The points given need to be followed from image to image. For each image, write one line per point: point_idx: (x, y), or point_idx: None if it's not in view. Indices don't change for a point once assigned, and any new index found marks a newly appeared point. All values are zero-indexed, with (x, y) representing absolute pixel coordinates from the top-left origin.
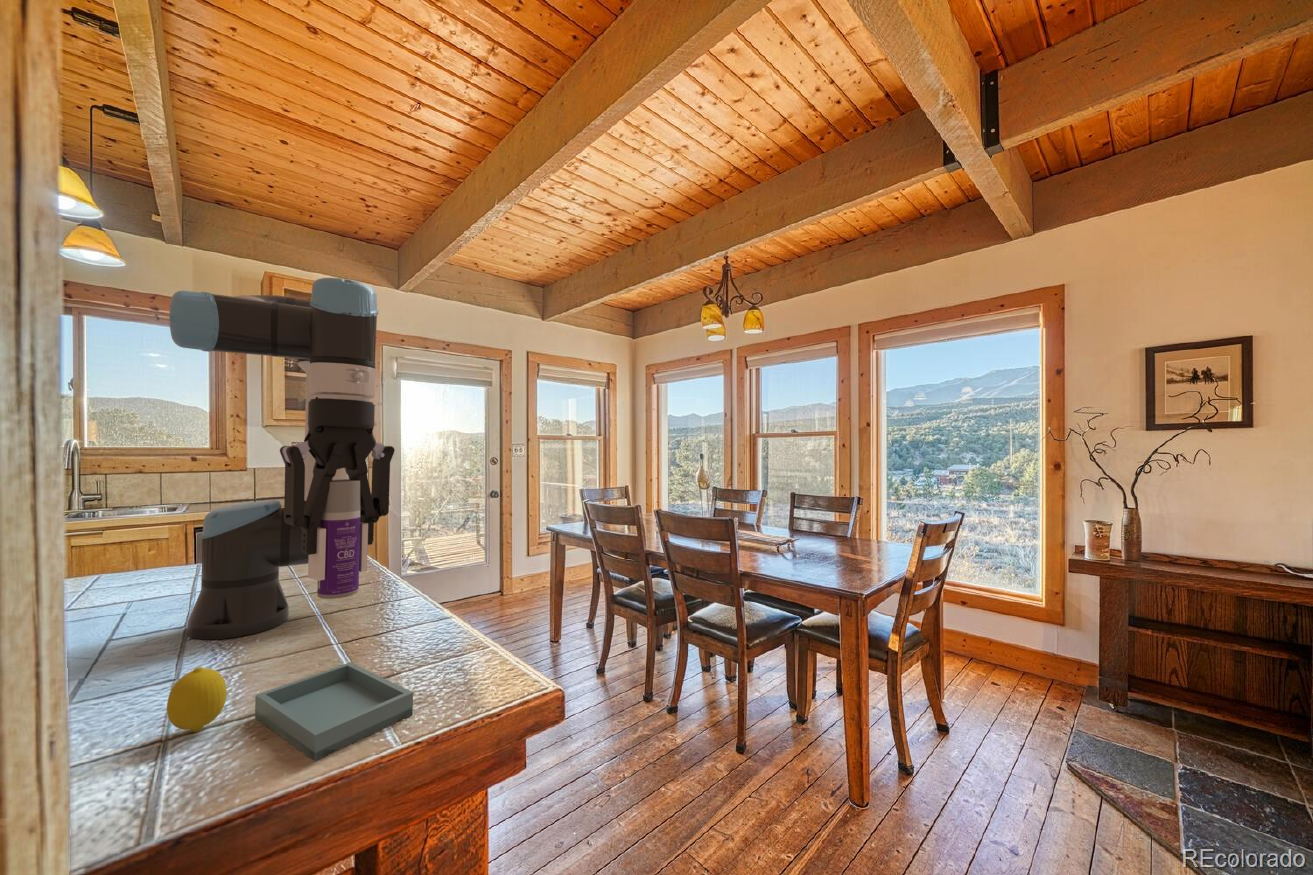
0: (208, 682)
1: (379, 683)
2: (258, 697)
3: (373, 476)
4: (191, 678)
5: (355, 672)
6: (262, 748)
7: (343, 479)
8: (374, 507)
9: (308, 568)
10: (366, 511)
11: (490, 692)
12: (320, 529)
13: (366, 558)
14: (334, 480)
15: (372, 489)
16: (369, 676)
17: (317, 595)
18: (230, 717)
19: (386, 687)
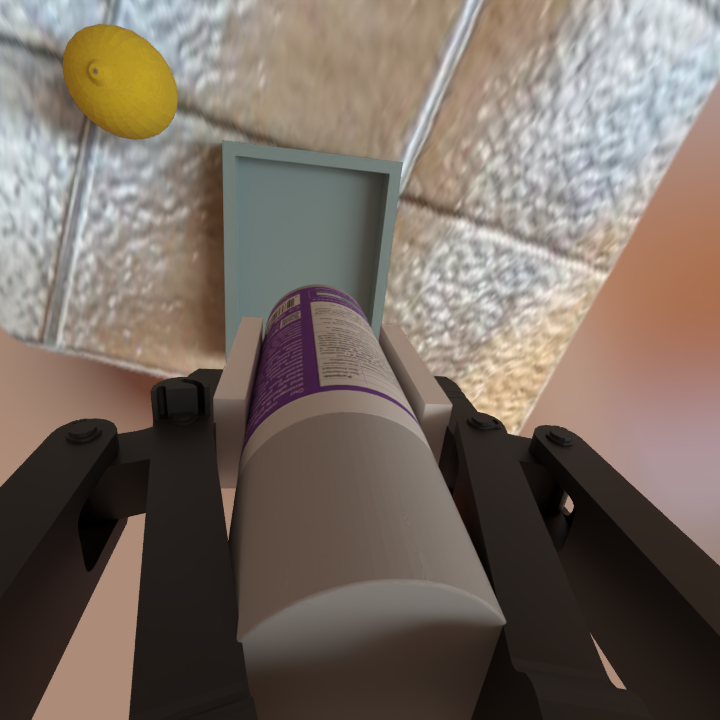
0: (120, 121)
1: (374, 291)
2: (223, 154)
3: (701, 646)
4: (85, 94)
5: (384, 207)
6: (200, 259)
7: (464, 612)
8: (543, 473)
9: (239, 327)
10: None
11: (466, 397)
12: (220, 486)
13: None
14: (348, 653)
15: (619, 538)
16: (379, 260)
17: (269, 315)
18: (202, 95)
19: (371, 314)
